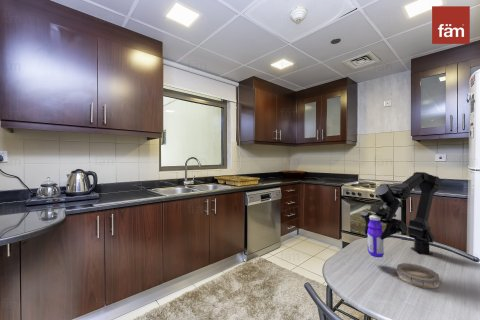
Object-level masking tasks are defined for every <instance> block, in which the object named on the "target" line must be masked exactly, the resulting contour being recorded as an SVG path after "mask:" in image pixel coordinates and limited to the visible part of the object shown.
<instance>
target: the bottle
mask: <svg viewBox="0 0 480 320" xmlns="http://www.w3.org/2000/svg"><path fill="white" fill-rule="evenodd" d="M368 227H369V228H368V230H367V234H366V235H367V252H368V254H369V255H370V256H371V257H374V258H384V255H385V251H384V250H385V247H384V245H385V244H384V239H383V240H381V236H382V234H383V232H384V230H382V229H383V225H382V223H381V222H380V217H379V216H376V215H374V214H372V215H371V216H370V222H369V224H368Z"/></svg>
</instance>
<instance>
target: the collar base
mask: <svg viewBox="0 0 480 320" xmlns="http://www.w3.org/2000/svg"><path fill="white" fill-rule="evenodd" d="M396 275H397V277H398V279H400V280H402V281H403V282H404V283H407V284H409V285H411V286H415V287H417V288H422V289H431V290H432V289H438V288H439V286H440V276H439V274H438V273H437V272H436V271H434V270H433V269H431V268H428V267H425V266H422V265H419V264H416V263H405V262H404V263H400V264H397V266H396Z"/></svg>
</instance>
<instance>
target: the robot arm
mask: <svg viewBox="0 0 480 320" xmlns="http://www.w3.org/2000/svg"><path fill="white" fill-rule="evenodd" d="M442 183H443V181H442V179H441V178H440V177H439V176H436V175H432V174H429V173H427V172H424V171H423V172H422V171H415V172H413V174H412V175H411V176H409V177H408V178H407V179H406V180H404V181H403V182H401V183H397V184H394V185H391V186H389V184H386V183H383V184H382V185H380V186H377V187H376V188H375V189H374V193H375V195H376V196H377V197H378V199H379V200H380V202H383V204H382V205H377V204H373V203H372V204H370V208H369V211H370V212H368V211H364V210H363V211H361V213H360V214H359V215H360V217H361V218H362V219H363V221H364V222H365V227H364V234H365V235H368V234H367V230H368V228H369V227H368V224H369V222H370V216H371V215H375V216H379V217H380V222H381V224H385V225H386V226H385V229H384V230H383V234H382V236H381V240H383V241H384V240H385V239H387V238H388V237H391V236H393V235H395V234H400V233H403V234H406V233H407V232H408V237H409V238H412V239H413V247H410V249H411V250H413V251H415V252H416V253H418V254H420V255H421V254H422V255H423V254H425V255H433V252H432V251H430V243H432V244H434V241H435V236H434V234H433V233H432V232H431V226H430V223H429V222H428V221H429V217H430V214H431V213H430V212H431V207H432V202H433V199H434V194H435V193H437V192H438V191H439V190H440V187H441V185H442ZM416 187H419V189H420V196H419V200H418V204H417V208H416V214H415V217H414V219H410V220H408V221H409V222H408V226H407V225H406V224H405V222H404V221H403V220H402V219H397V218H396V217H397V214H396V213H397V211H398V209H399V208H400V209H401V208H404V207H403V203H402V201H400V200H403V201H405V200H408V199H409V197H410V196H411V195H412V193H411V191H412V190H414V189H415V188H416ZM371 212H372V213H371Z"/></svg>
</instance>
